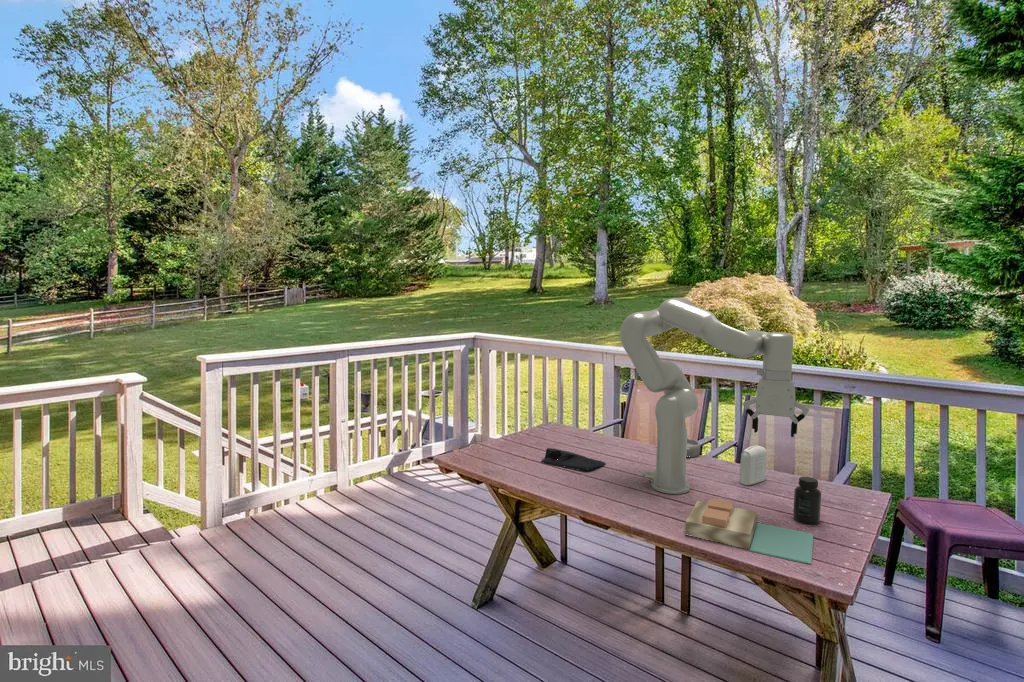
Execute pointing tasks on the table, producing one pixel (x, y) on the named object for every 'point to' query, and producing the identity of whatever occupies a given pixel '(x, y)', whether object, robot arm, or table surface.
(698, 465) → the table surface
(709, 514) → the tile
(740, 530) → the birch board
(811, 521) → the supplement bottle
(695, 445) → the dish
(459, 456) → the table surface
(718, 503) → the tile
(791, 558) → the rubber mat
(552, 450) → the black folded cloth
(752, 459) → the photo printer
